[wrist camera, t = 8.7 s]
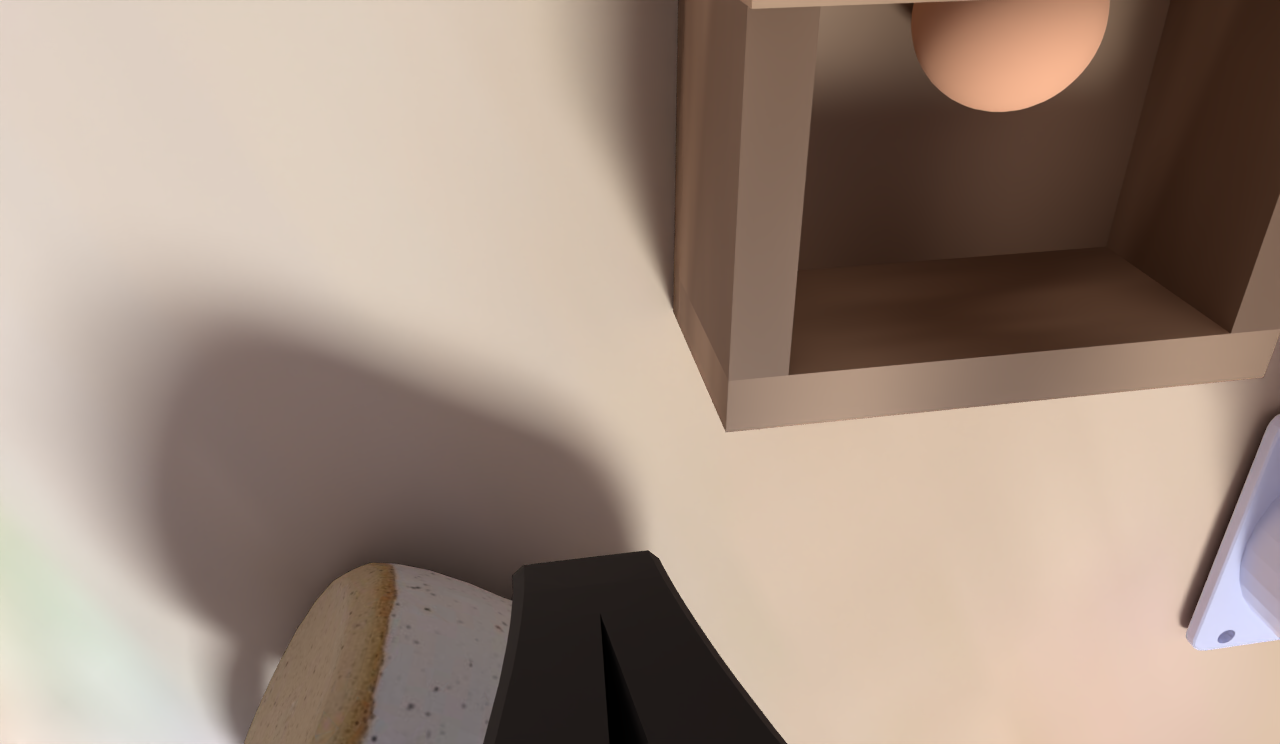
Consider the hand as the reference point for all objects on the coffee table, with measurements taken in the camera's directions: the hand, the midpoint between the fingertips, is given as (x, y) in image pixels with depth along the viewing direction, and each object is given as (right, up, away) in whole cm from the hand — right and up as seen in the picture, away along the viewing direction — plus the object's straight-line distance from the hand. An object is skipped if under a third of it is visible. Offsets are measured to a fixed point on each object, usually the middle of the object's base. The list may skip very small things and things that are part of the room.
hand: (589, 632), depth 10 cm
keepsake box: (+6, +9, +8) cm, 13 cm away
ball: (+6, +9, +7) cm, 13 cm away
